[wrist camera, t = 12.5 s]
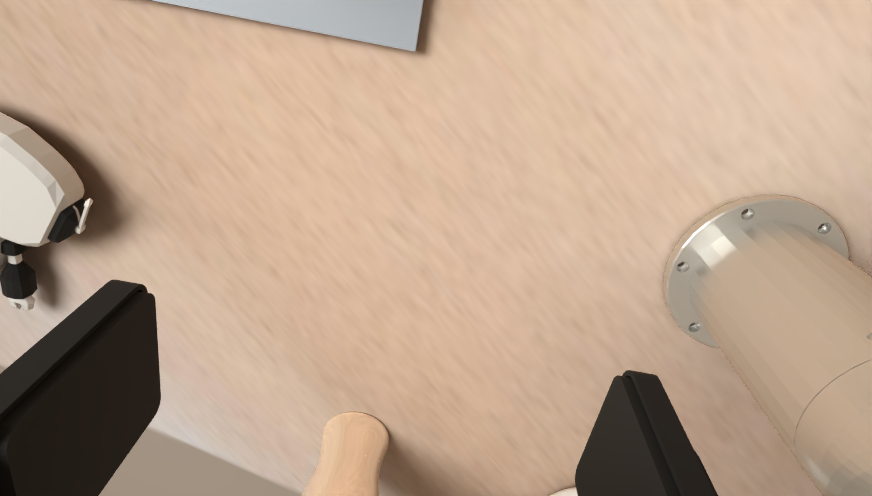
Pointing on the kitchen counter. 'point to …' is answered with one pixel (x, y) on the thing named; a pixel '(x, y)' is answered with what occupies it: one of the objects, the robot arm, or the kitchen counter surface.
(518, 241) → the kitchen counter surface
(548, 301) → the kitchen counter surface
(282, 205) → the kitchen counter surface
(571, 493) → the flower in vase
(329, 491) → the beer glass
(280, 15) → the board
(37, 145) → the robot toy
